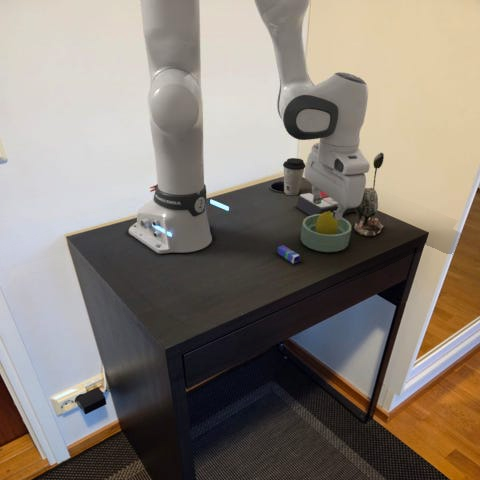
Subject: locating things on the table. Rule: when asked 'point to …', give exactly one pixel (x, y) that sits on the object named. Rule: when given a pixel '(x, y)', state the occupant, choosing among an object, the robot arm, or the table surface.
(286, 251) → the eraser
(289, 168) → the coffee cup
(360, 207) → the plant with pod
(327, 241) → the bowl
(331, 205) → the calculator
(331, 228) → the lemon
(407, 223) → the table surface
